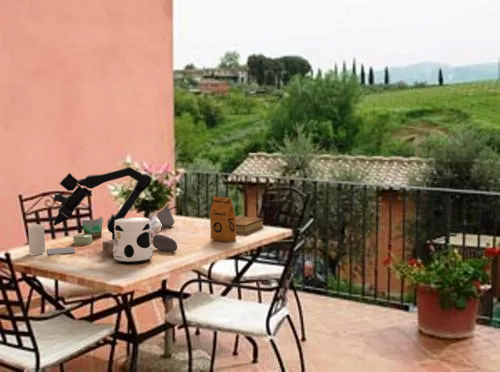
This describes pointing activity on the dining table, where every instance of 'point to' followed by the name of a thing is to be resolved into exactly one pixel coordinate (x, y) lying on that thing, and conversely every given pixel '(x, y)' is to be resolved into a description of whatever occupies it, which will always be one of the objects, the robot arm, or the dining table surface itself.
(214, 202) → the coffee package
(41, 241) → the tumbler
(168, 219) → the coffee pot
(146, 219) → the milk container
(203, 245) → the dining table surface
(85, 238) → the sage green dome
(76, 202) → the robot arm
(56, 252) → the coaster
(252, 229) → the diary
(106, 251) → the walnut box
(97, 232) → the food container
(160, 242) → the grey oval stone
